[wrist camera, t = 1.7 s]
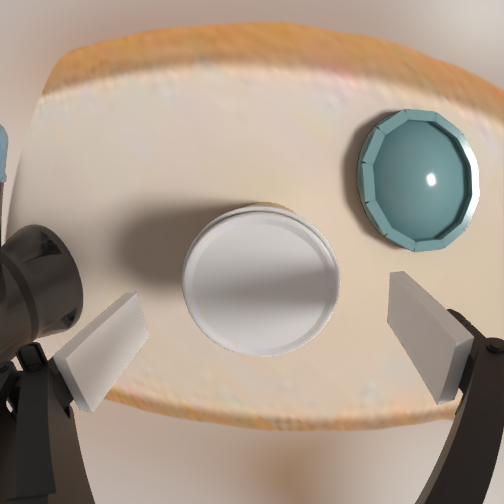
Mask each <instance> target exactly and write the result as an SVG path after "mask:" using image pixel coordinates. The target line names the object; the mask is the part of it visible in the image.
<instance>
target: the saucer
mask: <svg viewBox="0 0 504 504" xmlns="http://www.w3.org/2000/svg"><path fill="white" fill-rule="evenodd" d="M476 163H477V161H476V159H475V157H474V155H473V152H472V150H471V148H470V146H469V144H468V142H467V140H466V138H465V136H464V134H463V133H461V131H460V130H459V129H458V128H457V127H455V126H454V125H453V124H452V123H450V122H449V121H448V120H446V119H445V118H444V117H442V116H441V115H440V114H438V113H435V112H433V111H423V110H410V109H405V110H402V111H400V112H397V113H394V114H392V115H390V116H388V117H386V118H384V119H383V120H382V121H380V122H379V123H378V124H377V125H376V126H375V127H374V128H373V129H372V130H371V132H370V133H369V134H368V136H367V138H366V139H365V141H364V143H363V146H362V148H361V151H360V155H359V159H358V165H357V185H358V192H359V196H360V200H361V203H362V206H363V208H364V211H365V213H366V214H367V216H368V218H369V220H370V221H371V223H372V224H373V226H374V227H375V228H376V229H377V230H378V231H379V232H380V233H381V234H382V235H383V236H384V237H385V238H387V239H388V240H390V241H391V242H393V243H394V244H396V245H398V246H400V247H403V248H406V249H409V250H410V251H412V252H413V251H414V252H421V251H430V250H439V249H442V247H443V248H445V247H446V246H448V245H449V244H450V243H451V242H452V241H454V240H455V239H456V238H457V237H458V236H460V235H461V234H462V233H463V232H464V231H465V230H466V228H468V225H469V223H470V220H471V218H472V216H473V213H474V211H475V208H476V205H477V203H478V200H479V199H478V198H476V197H479V178H478V165H475V164H476Z"/></svg>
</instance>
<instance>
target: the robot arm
mask: <svg viewBox="0 0 504 504" xmlns="http://www.w3.org/2000/svg"><path fill="white" fill-rule="evenodd" d="M7 148H8V135H7V132H6V131H5V129H4V128H3V126H1V125H0V504H95V502H94V499H93V495H92V492H91V489H90V486H89V482H88V479H87V475H86V471H85V468H84V463H83V459H82V455H81V451H80V446H79V441H78V437H77V431H76V425H75V419H74V413H73V409H72V407H71V406H70V403H71V402H72V401H73V399H74V401H75V402H76V404H77V406H78V408H79V410H83V411H87V412H91V413H93V412H94V410H95V409H96V408H97V406H98V405H99V404H100V402H101V401H102V399H103V398H104V397H105V395H106V394H107V393H108V391H109V390H110V389H111V387H112V386H113V384H114V383H115V382H116V380H117V379H118V378H119V376H120V375H121V374H122V372H123V371H124V370H125V368H126V367H127V366H128V364H129V363H130V362H131V360H132V359H133V358H134V356H135V355H136V354H137V352H138V351H139V350H140V348H141V347H142V346H143V344H144V343H145V342H146V340H147V339H148V338H149V333H148V330H147V327H146V323H145V319H144V316H143V312H142V308H141V305H140V301H139V297H138V293H137V292H134V293H125V294H124V295H123V296H121V297H120V298H119V299H118V300H117V301H115V302H114V303H113V304H112V305H111V306H109V307H108V308H107V309H106V310H105V311H104V312H102V313H101V314H100V315H99V316H98V317H97V318H95V319H94V320H93V321H92V322H91V323H90V324H88V325H87V326H86V327H85V328H84V329H83V330H82V331H80V332H79V333H78V334H77V335H76V336H75V337H74V338H72V339H71V340H70V341H69V342H68V343H67V344H66V345H65V346H64V347H62V348H61V349H60V350H59V351H58V352H57V353H56V354H55V355H54V356H53V357H52V358H51V359H49V360H48V361H47V359H46V356H45V354H44V352H43V349H42V347H41V345H40V343H38V342H33V341H34V340H35V339H37V338H41V337H45V336H49V335H53V334H57V333H60V332H64V331H66V330H68V329H70V328H71V327H73V326H74V325H75V324H76V323H77V321H78V320H79V318H80V315H81V312H82V308H83V289H82V283H81V279H80V275H79V272H78V269H77V266H76V264H75V262H74V259H73V257H72V256H71V254H70V252H69V250H68V249H67V247H66V246H65V244H64V243H63V242H62V241H61V239H60V238H59V237H58V236H57V235H56V234H55V233H54V232H52V231H51V230H49V229H48V228H46V227H44V226H41V225H29V226H26V227H24V228H22V229H20V230H19V231H18V232H17V233H15V234H14V235H13V236H12V237H11V238H10V239H9V240H8V241H7V242H6V243H5V244H4V245H3V246H2V247H1V215H2V198H3V196H2V195H3V186H4V182H5V181H6V174H5V167H6V156H7ZM387 322H388V324H389V325H390V327H391V328H392V330H393V332H394V333H395V335H396V336H397V338H398V339H399V341H400V343H401V344H402V346H403V347H404V349H405V351H406V352H407V354H408V355H409V357H410V359H411V360H412V362H413V364H414V365H415V367H416V369H417V370H418V372H419V374H420V375H421V377H422V379H423V381H424V382H425V384H426V386H427V387H428V389H429V391H430V393H431V395H432V396H433V398H434V400H435V402H436V403H437V405H439V404H442V403H446V402H449V401H452V400H454V399H455V396H456V394H457V391H458V388H460V390H461V391H462V393H463V396H462V399H461V401H460V404H459V406H458V408H457V411H456V413H455V415H456V416H455V419H454V422H453V425H452V427H451V430H450V433H449V435H448V437H447V440H446V442H445V445H444V447H443V450H442V452H441V454H440V456H439V459H438V461H437V463H436V465H435V467H434V469H433V471H432V473H431V475H430V477H429V479H428V481H427V483H426V485H425V487H424V489H423V491H422V492H421V494H420V496H419V498H418V499H417V501H416V503H415V504H483V501H484V499H485V495H486V493H487V490H488V487H489V484H490V481H491V478H492V475H493V471H494V468H495V464H496V460H497V456H498V452H499V447H500V443H501V439H502V434H503V429H504V340H502V339H499V338H491V337H490V338H486V337H485V336H484V335H482V334H481V333H480V332H479V331H478V330H477V329H476V328H475V327H474V326H473V325H471V323H470V322H469V321H468V320H466V318H465V317H463V316H462V315H461V314H460V313H458V312H456V311H454V310H452V309H447V310H446V309H445V308H444V307H443V306H442V305H441V304H440V303H439V302H438V301H437V300H435V299H434V298H433V297H432V296H431V295H430V294H429V293H428V292H427V291H426V290H424V289H423V288H422V287H421V286H420V285H419V284H418V283H417V282H415V281H414V280H413V279H412V278H411V277H410V276H409V275H407V274H406V273H405V272H404V271H400V272H392V273H390V287H389V304H388V317H387ZM31 342H32V343H31ZM15 356H17V358H18V360H19V362H20V365H21V367H22V368H23V371H17V369H16V367H15V365H14V363H13V362H12V361H11V360H12V359H13V358H14V357H15ZM6 401H8V402H9V404H10V406H11V407H12V409H13V410H12V412H10V411H9V410H8V408H7V406H6Z"/></svg>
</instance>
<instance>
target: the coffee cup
mask: <svg viewBox="0 0 504 504" xmlns="http://www.w3.org/2000/svg"><path fill="white" fill-rule="evenodd" d="M181 281H182V291H183V296H184V299H185V303H186V305H187V308H188V310H189V313H190V315H191V316H192V318H193V320H194V321H195V323H196V324H197V326H198V327H199V328H200V329H201V331H202V332H203V333H204V334H205V335H206V336H207V337H209V338H210V339H211V340H212V341H214V342H215V343H217V344H218V345H220V346H222V347H224V348H226V349H227V350H230V351H232V352H235V353H238V354H242V355H247V356H254V357H270V356H277V355H281V354H285V353H288V352H291V351H294V350H296V349H298V348H300V347H301V346H303V345H305V344H306V343H308V342H309V341H310V340H312V339H313V338H314V337H315V336H316V335H317V334H318V333H319V332H320V331H321V330H322V328H323V327H324V326H325V325H326V323H327V322H328V320H329V319H330V317H331V316H332V314H333V312H334V310H335V307H336V304H337V301H338V297H339V292H340V272H339V267H338V262H337V259H336V256H335V254H334V252H333V250H332V247H331V246H330V244H329V243H328V241H327V239H326V238H325V237H324V236H323V234H322V233H321V232H320V231H319V230H318V229H317V228H316V227H315V226H314V225H312V224H311V223H310V222H308V221H307V220H306V219H304V218H302V217H301V216H299V215H297V214H296V213H294V212H293V211H292V210H290V209H289V208H287V207H285V206H282V205H280V204H276V203H269V202H262V203H256V204H252V205H249V206H246V207H242V208H238V209H235V210H232V211H229V212H226V213H224V214H223V215H221V216H219V217H217V218H216V219H214V220H213V221H211V222H210V223H209V224H207V225H206V226H205V227H204V228H203V229H202V230H201V231H200V232H199V233H198V235H197V236H196V237H195V239H194V240H193V242H192V243H191V245H190V247H189V249H188V251H187V254H186V256H185V259H184V263H183V268H182V279H181Z"/></svg>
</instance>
